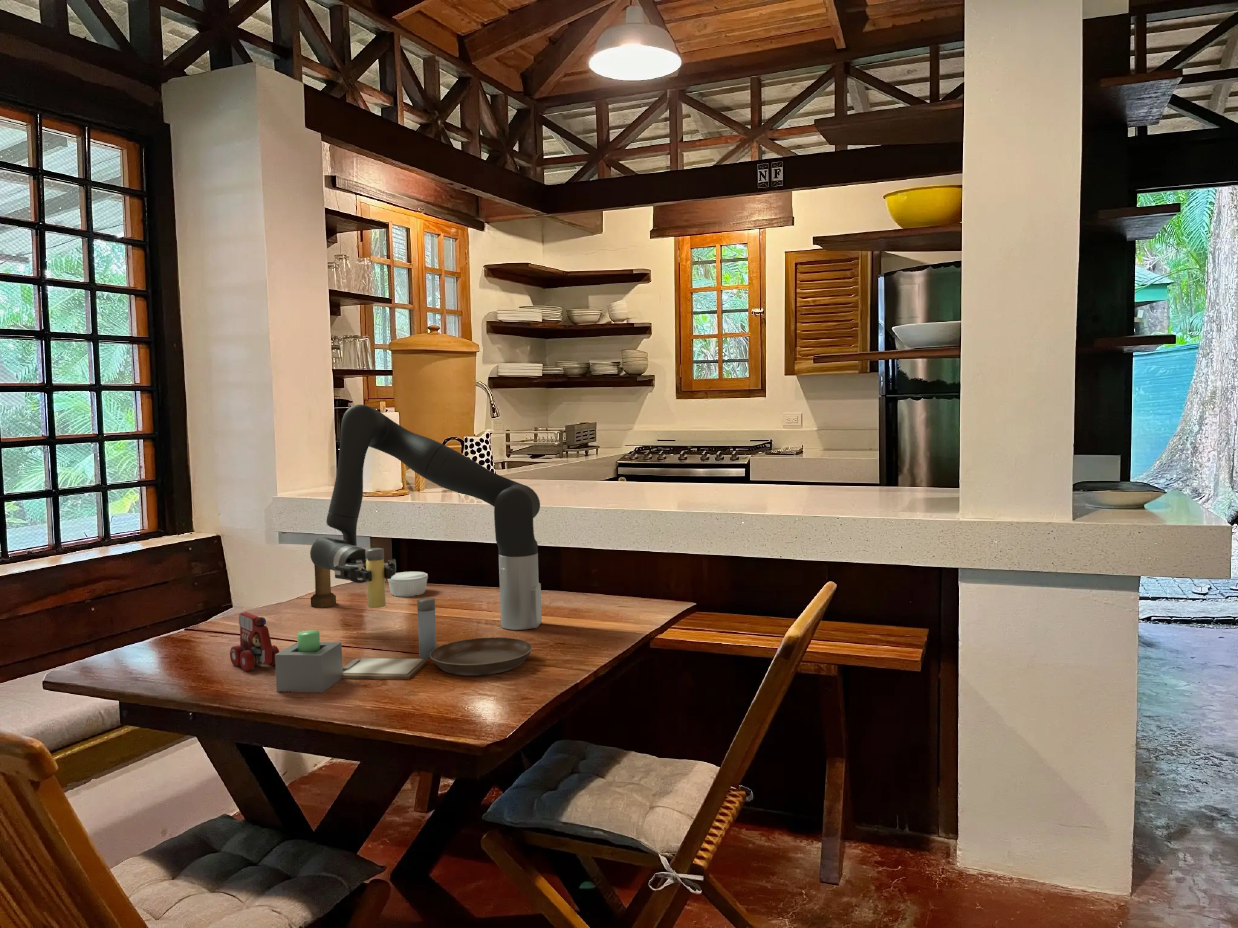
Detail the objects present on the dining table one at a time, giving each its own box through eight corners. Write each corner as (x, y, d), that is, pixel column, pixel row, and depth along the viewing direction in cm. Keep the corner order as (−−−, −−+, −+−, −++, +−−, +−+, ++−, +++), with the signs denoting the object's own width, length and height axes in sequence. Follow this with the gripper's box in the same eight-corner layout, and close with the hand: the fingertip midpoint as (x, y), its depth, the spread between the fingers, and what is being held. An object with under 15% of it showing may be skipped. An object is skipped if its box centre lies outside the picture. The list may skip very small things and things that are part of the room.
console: (342, 677, 177) (341, 642, 176) (322, 692, 168) (321, 655, 167) (299, 676, 178) (297, 641, 177) (276, 691, 169) (274, 654, 169)
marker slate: (439, 653, 193) (437, 597, 192) (433, 658, 189) (431, 601, 188) (422, 653, 193) (420, 597, 192) (416, 658, 189) (414, 601, 188)
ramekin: (418, 598, 248) (417, 579, 247) (380, 597, 250) (380, 578, 250) (434, 589, 259) (434, 571, 258) (398, 589, 261) (397, 570, 261)
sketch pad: (428, 661, 187) (428, 656, 187) (408, 679, 175) (408, 673, 175) (358, 660, 188) (358, 655, 188) (334, 678, 177) (334, 672, 177)
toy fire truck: (251, 675, 180) (249, 623, 179) (226, 663, 189) (224, 613, 188) (285, 667, 185) (283, 617, 184) (259, 655, 194) (257, 608, 193)
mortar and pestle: (341, 604, 242) (338, 537, 240) (318, 609, 237) (315, 540, 236) (328, 601, 246) (325, 535, 245) (306, 605, 241) (303, 538, 240)
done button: (323, 650, 174) (322, 630, 174) (314, 656, 170) (313, 635, 170) (303, 650, 175) (303, 630, 174) (294, 656, 171) (293, 635, 170)
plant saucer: (413, 663, 186) (412, 647, 186) (500, 645, 199) (500, 630, 199) (460, 687, 170) (459, 670, 170) (552, 666, 183) (551, 650, 182)
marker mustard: (388, 603, 192) (386, 547, 191) (381, 608, 188) (379, 550, 187) (371, 603, 192) (369, 547, 191) (364, 607, 188) (362, 550, 187)
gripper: (321, 550, 197) (345, 561, 183) (385, 543, 205) (412, 553, 191) (323, 584, 198) (346, 597, 183) (386, 576, 206) (413, 588, 191)
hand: (379, 575), depth 187 cm, fingers closed on marker mustard, 3 cm apart
